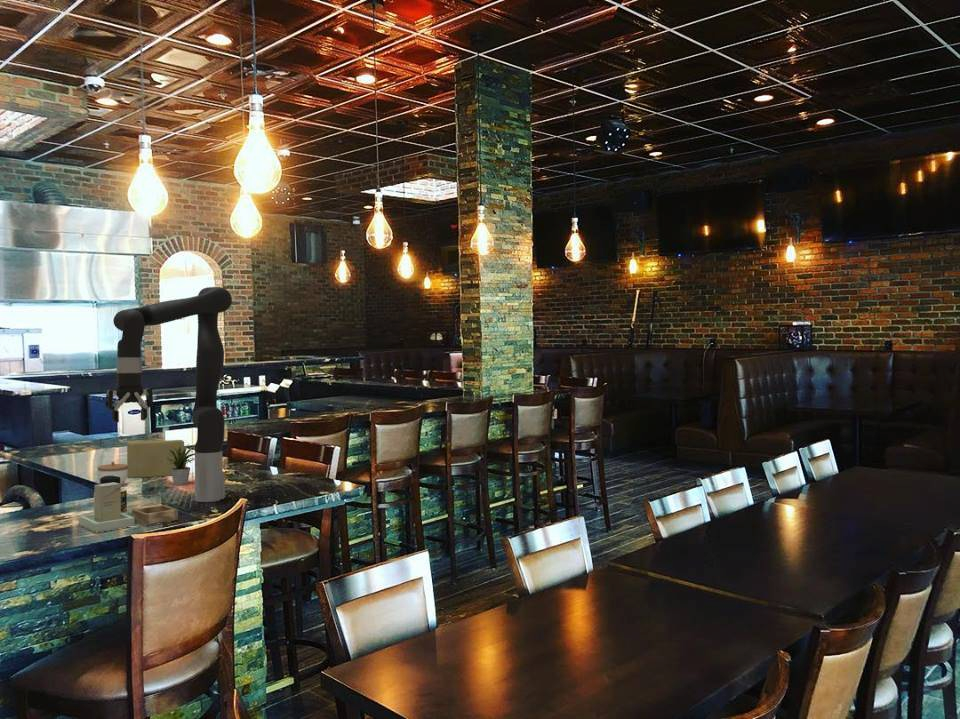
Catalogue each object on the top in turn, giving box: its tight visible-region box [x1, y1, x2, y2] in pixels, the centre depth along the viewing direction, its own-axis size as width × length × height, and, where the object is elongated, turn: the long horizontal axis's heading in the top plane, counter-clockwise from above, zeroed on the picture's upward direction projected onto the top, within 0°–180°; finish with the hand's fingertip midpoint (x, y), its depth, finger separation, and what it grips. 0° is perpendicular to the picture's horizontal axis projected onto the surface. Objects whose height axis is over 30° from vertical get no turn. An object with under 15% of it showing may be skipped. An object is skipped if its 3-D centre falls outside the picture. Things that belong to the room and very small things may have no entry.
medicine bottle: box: [93, 475, 128, 514], centre depth 251 cm, size 7×7×12 cm
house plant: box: [166, 443, 195, 486], centre depth 300 cm, size 14×14×16 cm
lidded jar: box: [97, 461, 128, 487], centre depth 297 cm, size 11×11×9 cm
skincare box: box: [93, 482, 122, 523], centre depth 233 cm, size 6×4×12 cm
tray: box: [78, 512, 135, 534], centre depth 233 cm, size 11×14×3 cm
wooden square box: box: [131, 504, 179, 527], centre depth 239 cm, size 10×10×4 cm
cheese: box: [126, 439, 187, 479], centre depth 319 cm, size 22×10×15 cm, turn 94°
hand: (129, 421), depth 249 cm, fingers open, 8 cm apart
